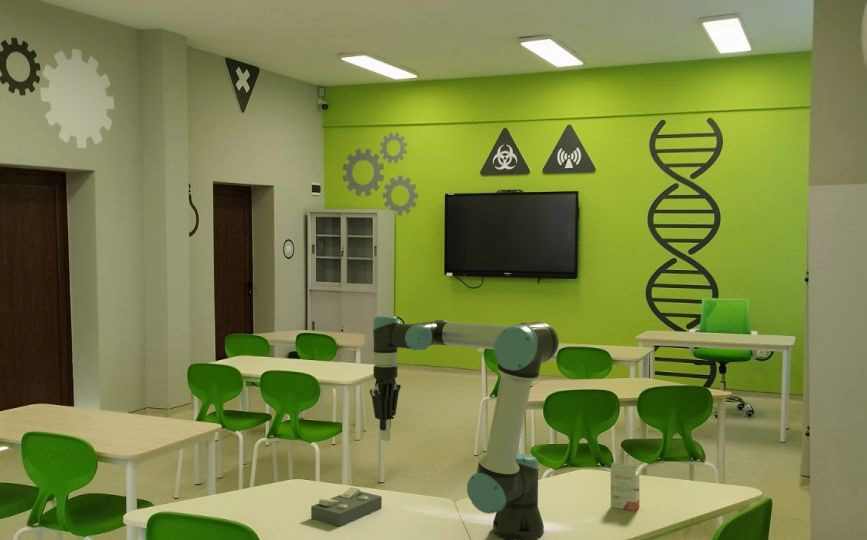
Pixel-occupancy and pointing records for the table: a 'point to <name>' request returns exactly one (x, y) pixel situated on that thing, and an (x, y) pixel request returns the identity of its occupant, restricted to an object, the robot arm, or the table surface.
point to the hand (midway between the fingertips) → (385, 439)
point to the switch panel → (346, 509)
